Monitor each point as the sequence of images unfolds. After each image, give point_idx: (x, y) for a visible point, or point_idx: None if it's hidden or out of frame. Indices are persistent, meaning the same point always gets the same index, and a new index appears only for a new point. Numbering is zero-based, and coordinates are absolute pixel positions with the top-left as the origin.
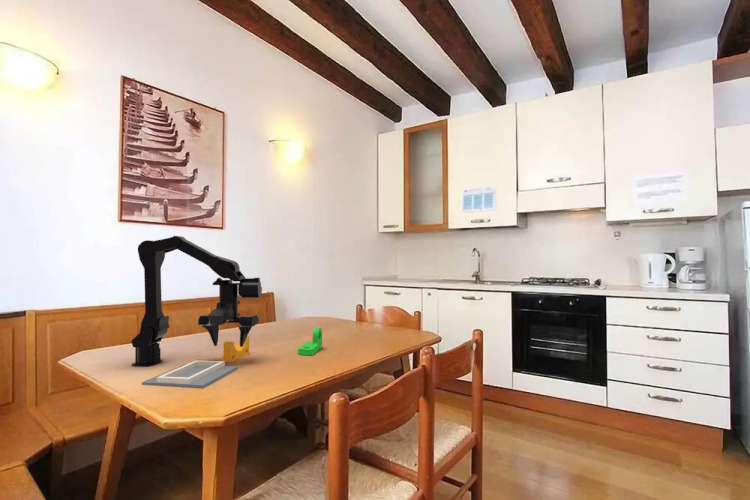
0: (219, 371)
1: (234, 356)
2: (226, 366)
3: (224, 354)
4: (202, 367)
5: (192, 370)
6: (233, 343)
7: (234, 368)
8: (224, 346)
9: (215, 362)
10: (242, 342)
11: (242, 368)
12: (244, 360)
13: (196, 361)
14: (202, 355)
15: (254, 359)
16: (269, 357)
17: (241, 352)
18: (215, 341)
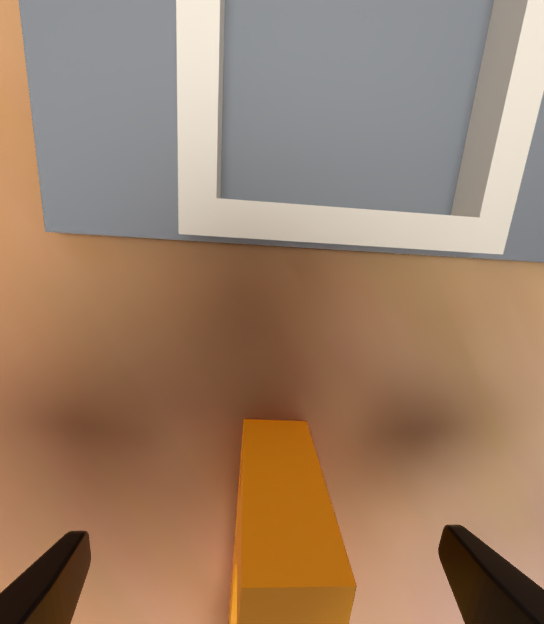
0: (123, 9)
1: (239, 490)
2: (158, 214)
3: (310, 462)
4: (380, 162)
5: (434, 39)
6: (238, 613)
7: (40, 160)
8: (330, 535)
9: (271, 204)
10: (6, 595)
11: (27, 250)
12: (157, 472)
13: (488, 208)
14: (531, 543)
15: (92, 505)
16: (3, 564)
17: (232, 584)
18: (483, 586)
